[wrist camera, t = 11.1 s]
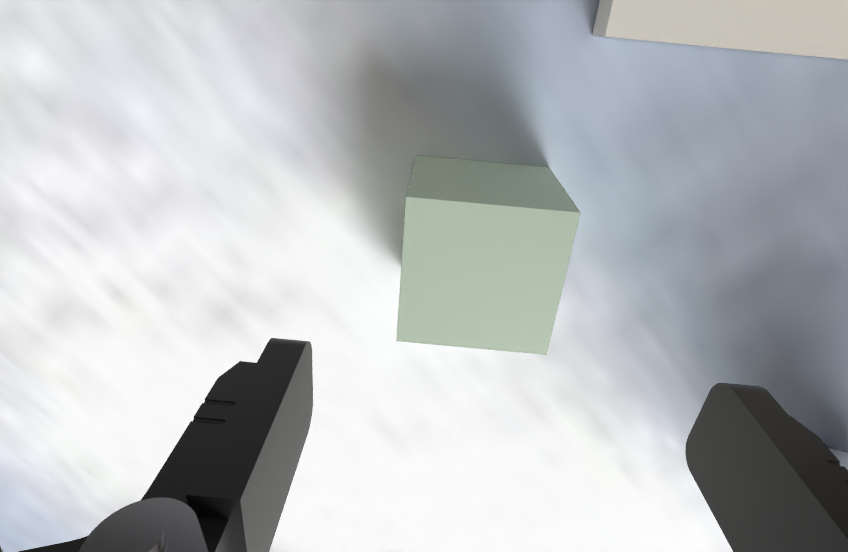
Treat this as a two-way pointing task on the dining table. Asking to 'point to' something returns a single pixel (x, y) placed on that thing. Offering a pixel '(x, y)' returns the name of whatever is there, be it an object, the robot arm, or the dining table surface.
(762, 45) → the base plate
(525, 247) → the sage block
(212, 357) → the dining table surface
